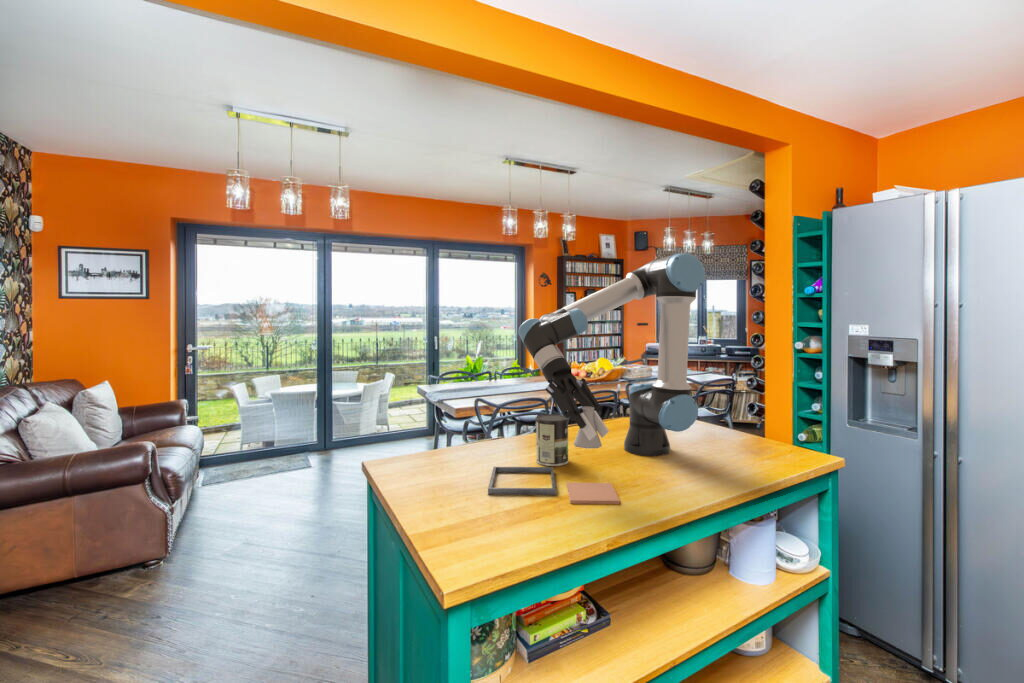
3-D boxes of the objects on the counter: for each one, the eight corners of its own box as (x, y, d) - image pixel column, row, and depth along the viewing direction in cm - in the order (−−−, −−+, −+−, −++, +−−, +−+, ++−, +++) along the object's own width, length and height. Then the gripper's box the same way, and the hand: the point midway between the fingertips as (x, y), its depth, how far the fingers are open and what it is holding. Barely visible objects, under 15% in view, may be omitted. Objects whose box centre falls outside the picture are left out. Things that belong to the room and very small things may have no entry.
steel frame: (553, 472, 134) (553, 467, 134) (556, 495, 117) (556, 489, 117) (493, 471, 135) (493, 466, 135) (488, 494, 118) (487, 488, 118)
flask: (602, 443, 120) (603, 405, 119) (601, 450, 113) (601, 410, 112) (575, 441, 121) (575, 404, 121) (571, 448, 114) (572, 408, 114)
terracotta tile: (611, 485, 123) (611, 482, 123) (619, 503, 111) (619, 500, 111) (566, 485, 123) (566, 482, 123) (570, 503, 112) (570, 500, 111)
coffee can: (566, 456, 150) (566, 413, 149) (570, 466, 139) (570, 421, 139) (535, 456, 150) (535, 414, 149) (536, 466, 140) (536, 421, 139)
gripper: (568, 371, 133) (613, 438, 121) (523, 376, 123) (567, 450, 111) (581, 354, 129) (629, 422, 117) (536, 358, 118) (583, 433, 106)
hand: (599, 435), depth 114 cm, fingers closed on flask, 4 cm apart
